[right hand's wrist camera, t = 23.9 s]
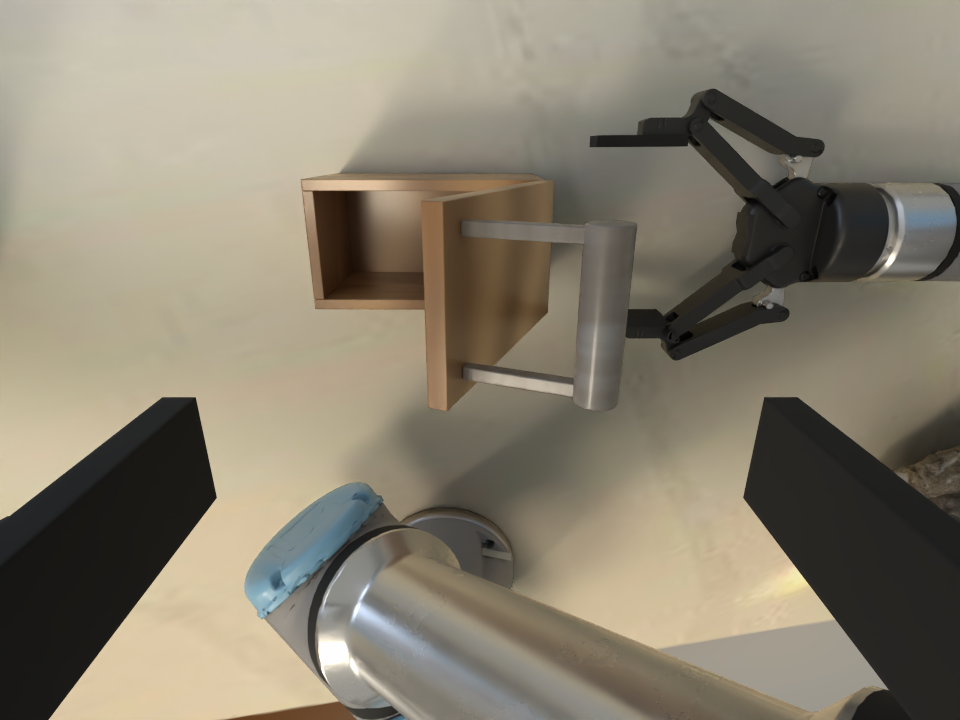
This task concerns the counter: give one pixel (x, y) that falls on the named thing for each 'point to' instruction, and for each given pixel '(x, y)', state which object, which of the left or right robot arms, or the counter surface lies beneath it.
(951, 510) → the fossil
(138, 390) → the counter surface
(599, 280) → the lid
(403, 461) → the counter surface
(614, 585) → the counter surface
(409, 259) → the chest
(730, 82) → the counter surface
